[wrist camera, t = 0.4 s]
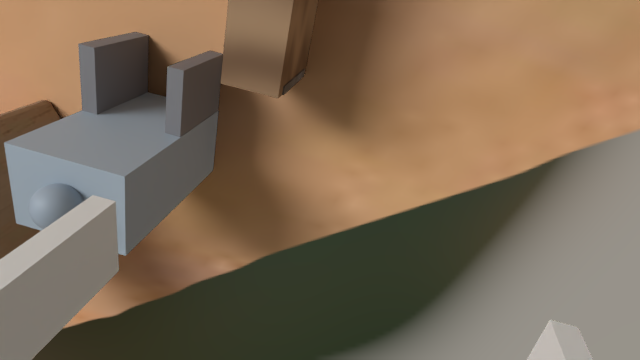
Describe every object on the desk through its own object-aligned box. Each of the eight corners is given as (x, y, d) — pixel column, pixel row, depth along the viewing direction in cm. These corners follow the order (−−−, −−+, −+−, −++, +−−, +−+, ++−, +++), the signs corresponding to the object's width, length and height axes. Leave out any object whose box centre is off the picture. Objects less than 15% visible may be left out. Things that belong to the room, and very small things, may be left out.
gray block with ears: (134, 31, 37) (-48, 69, 22) (223, 54, 36) (95, 108, 21) (134, 148, 42) (-14, 241, 27) (213, 170, 41) (103, 277, 26)
